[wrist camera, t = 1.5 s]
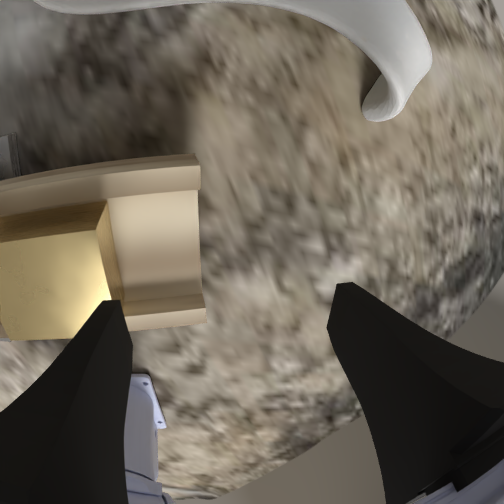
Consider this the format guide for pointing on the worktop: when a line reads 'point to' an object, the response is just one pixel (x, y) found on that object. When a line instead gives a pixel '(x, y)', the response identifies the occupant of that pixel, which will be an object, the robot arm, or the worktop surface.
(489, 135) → the worktop surface
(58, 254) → the block
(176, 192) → the beam
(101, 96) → the worktop surface
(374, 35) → the spoon rest
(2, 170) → the stand
